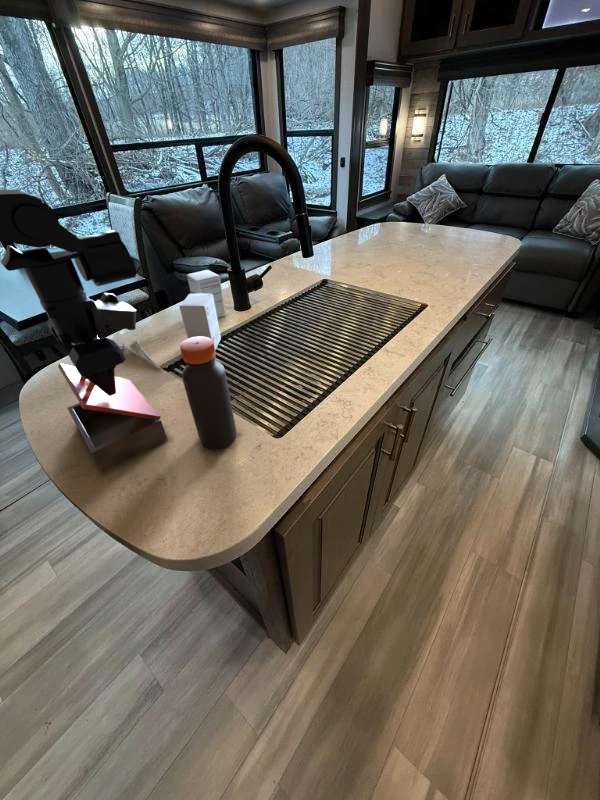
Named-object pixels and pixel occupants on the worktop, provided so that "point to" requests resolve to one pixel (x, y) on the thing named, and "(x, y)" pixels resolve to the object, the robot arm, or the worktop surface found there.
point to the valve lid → (96, 399)
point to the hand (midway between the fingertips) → (104, 383)
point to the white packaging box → (208, 288)
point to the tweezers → (139, 354)
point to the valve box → (116, 435)
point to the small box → (200, 317)
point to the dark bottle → (208, 393)
